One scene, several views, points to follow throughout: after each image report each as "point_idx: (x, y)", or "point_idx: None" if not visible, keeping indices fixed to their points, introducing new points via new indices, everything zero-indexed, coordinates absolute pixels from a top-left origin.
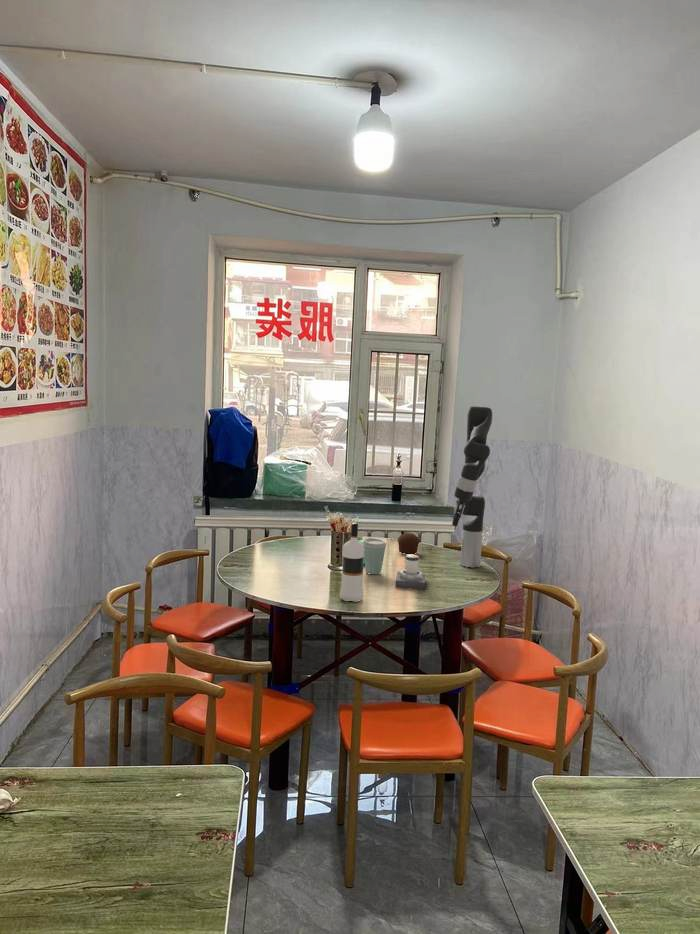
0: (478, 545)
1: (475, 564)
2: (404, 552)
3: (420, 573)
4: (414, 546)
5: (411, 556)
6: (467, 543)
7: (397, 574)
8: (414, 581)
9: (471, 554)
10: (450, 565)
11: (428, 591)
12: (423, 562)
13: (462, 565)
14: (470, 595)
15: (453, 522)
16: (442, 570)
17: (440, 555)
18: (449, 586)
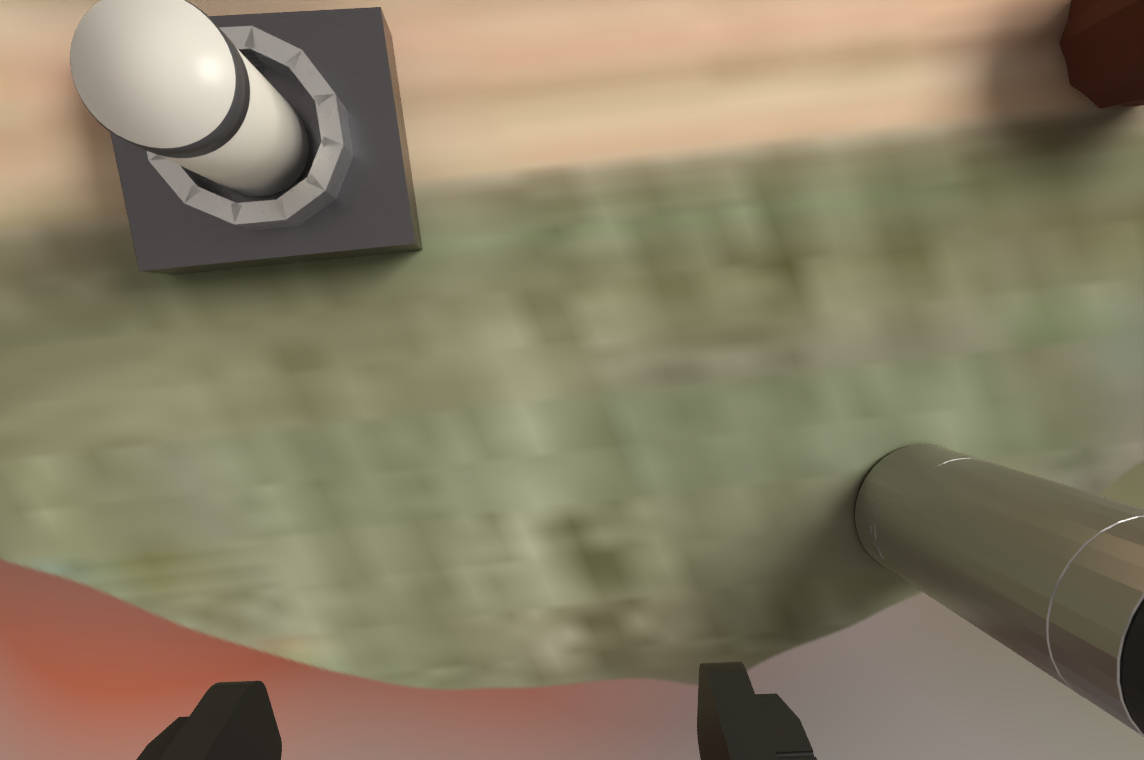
0: (1002, 642)
1: (877, 556)
2: (1083, 8)
3: (244, 212)
4: (1141, 64)
5: (130, 59)
6: (1004, 555)
7: (286, 17)
8: (134, 184)
9: (922, 556)
10: (879, 381)
11: (145, 307)
12: (896, 185)
13: (881, 463)
14: (188, 589)
15: (177, 754)
16: (732, 342)
17: (1115, 285)
18: (344, 433)
